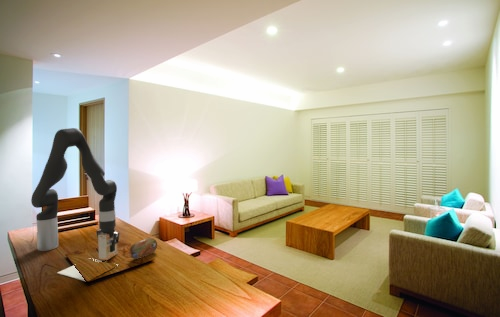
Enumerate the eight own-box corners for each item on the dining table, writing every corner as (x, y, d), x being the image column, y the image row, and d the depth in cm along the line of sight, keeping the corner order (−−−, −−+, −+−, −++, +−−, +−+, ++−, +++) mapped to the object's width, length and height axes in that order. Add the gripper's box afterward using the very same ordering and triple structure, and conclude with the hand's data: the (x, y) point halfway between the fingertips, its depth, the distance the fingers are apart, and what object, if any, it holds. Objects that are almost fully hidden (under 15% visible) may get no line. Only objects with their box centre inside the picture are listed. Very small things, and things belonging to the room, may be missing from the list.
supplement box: (106, 261, 131) (105, 235, 130) (98, 260, 132) (97, 235, 131) (118, 254, 139) (117, 230, 138) (110, 253, 140) (109, 229, 139)
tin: (132, 262, 130) (131, 245, 129) (128, 260, 131) (128, 244, 131) (157, 251, 142) (157, 236, 142) (153, 250, 144) (153, 235, 143)
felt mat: (57, 273, 118) (57, 272, 118) (90, 258, 133) (90, 258, 133) (87, 282, 111) (87, 281, 111) (119, 265, 126) (118, 264, 126)
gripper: (90, 219, 133) (91, 251, 134) (111, 222, 128) (112, 255, 129) (103, 215, 140) (104, 246, 141) (123, 218, 135) (124, 250, 136)
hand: (108, 250), depth 135 cm, fingers closed on supplement box, 5 cm apart
